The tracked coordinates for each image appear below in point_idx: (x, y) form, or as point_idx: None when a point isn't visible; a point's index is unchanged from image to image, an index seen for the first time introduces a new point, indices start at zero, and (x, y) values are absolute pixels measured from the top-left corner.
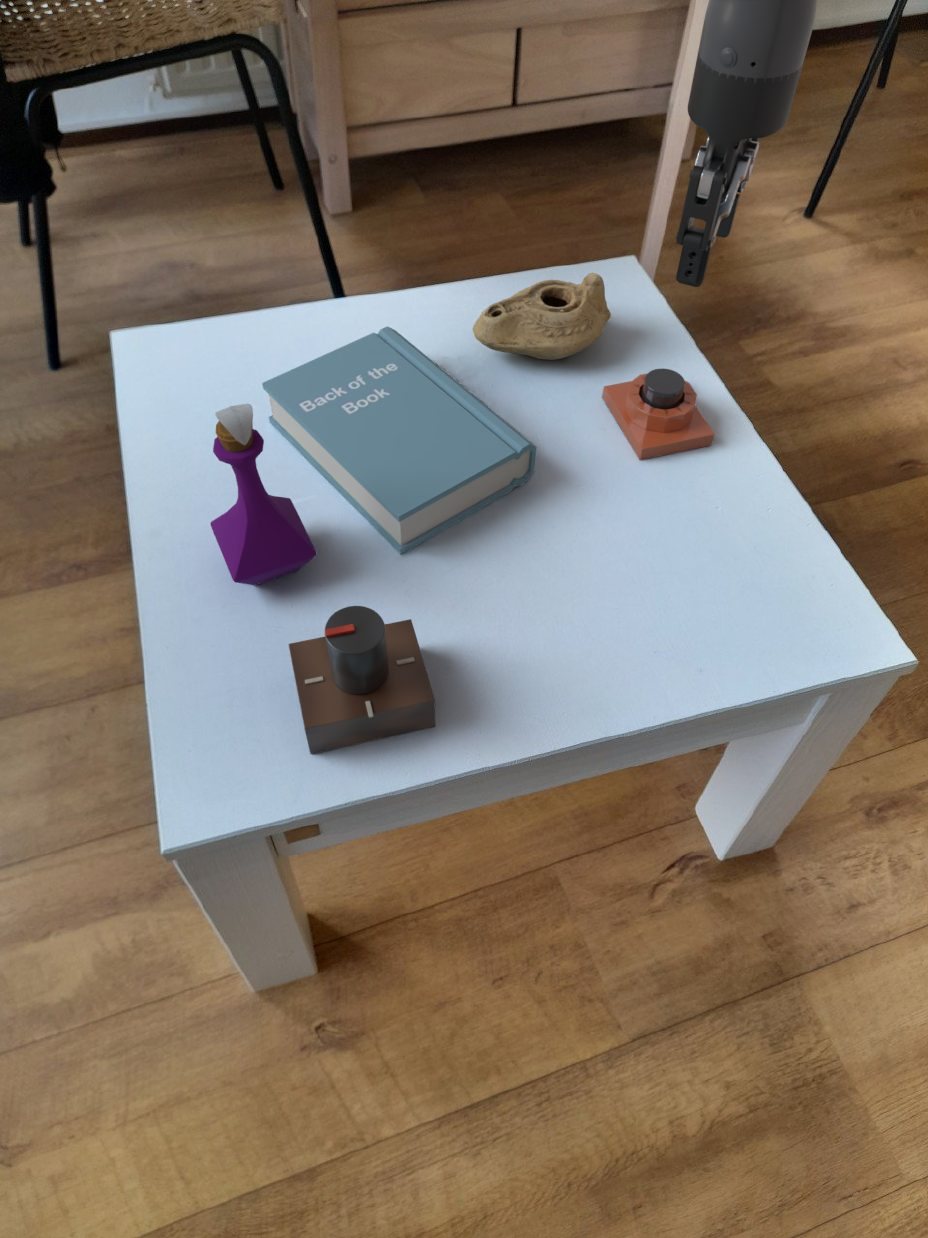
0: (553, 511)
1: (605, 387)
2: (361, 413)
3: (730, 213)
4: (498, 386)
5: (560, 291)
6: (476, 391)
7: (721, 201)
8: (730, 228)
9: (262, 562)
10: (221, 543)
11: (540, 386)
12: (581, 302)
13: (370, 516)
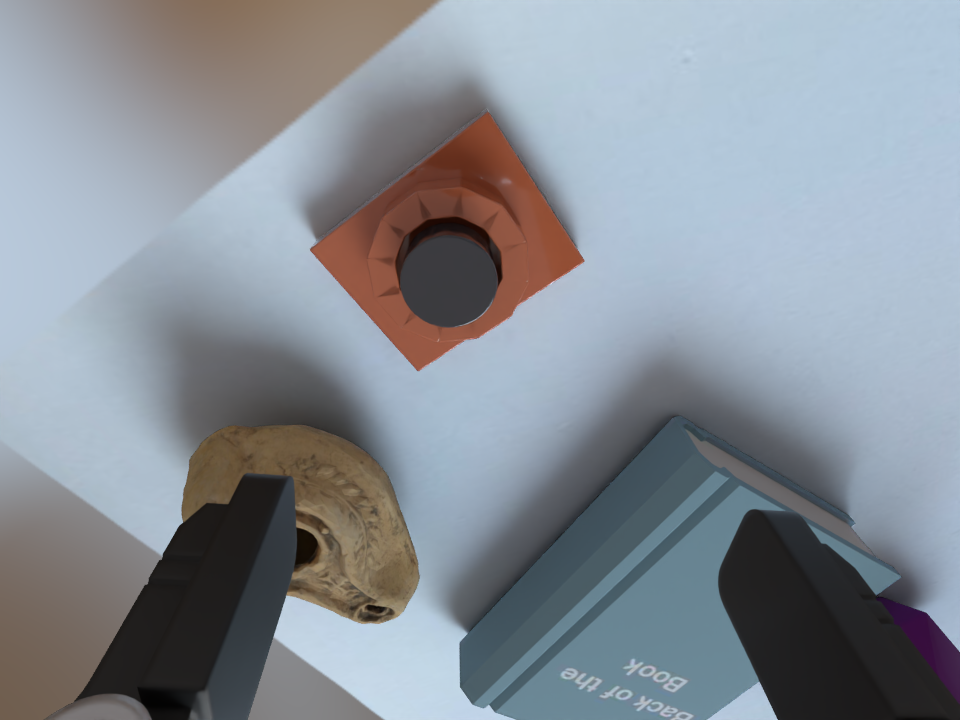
0: (740, 360)
1: (420, 367)
2: (685, 671)
3: (250, 591)
4: (458, 509)
5: None
6: (483, 531)
7: (234, 700)
8: (273, 502)
9: (955, 657)
10: None
11: (432, 456)
12: None
13: None
